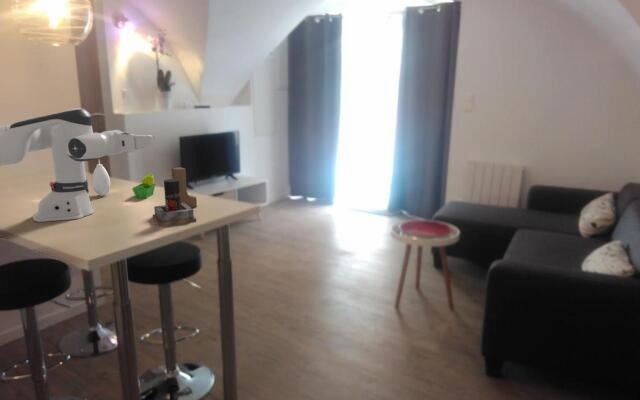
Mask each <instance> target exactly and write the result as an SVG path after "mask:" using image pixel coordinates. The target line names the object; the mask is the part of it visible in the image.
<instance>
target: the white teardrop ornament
mask: <svg viewBox="0 0 640 400" xmlns="http://www.w3.org/2000/svg"><path fill="white" fill-rule="evenodd" d="M106 169H107V168H105V167H104V165H103V164H101V160H100V159H98V164H96V167H95V168H94V170H93V173H92V180H91V183H92V187H93V188H92V189H93V191H94V192H95V193H96V194H97V195H98V196H100V197H104V196H106V195H107V194H109V192H110V189H111V180H110V179H111V178H110V176H109V173H108V171H107V170H106Z"/></svg>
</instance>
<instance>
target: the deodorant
mask: <svg viewBox="0 0 640 400" xmlns="http://www.w3.org/2000/svg"><path fill="white" fill-rule="evenodd" d="M163 185H164V187H163V188H164V203H165V205H166V212H170V211H178V210H181V198H180V182H179V179H172V178H169V179H164V180H163Z"/></svg>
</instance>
